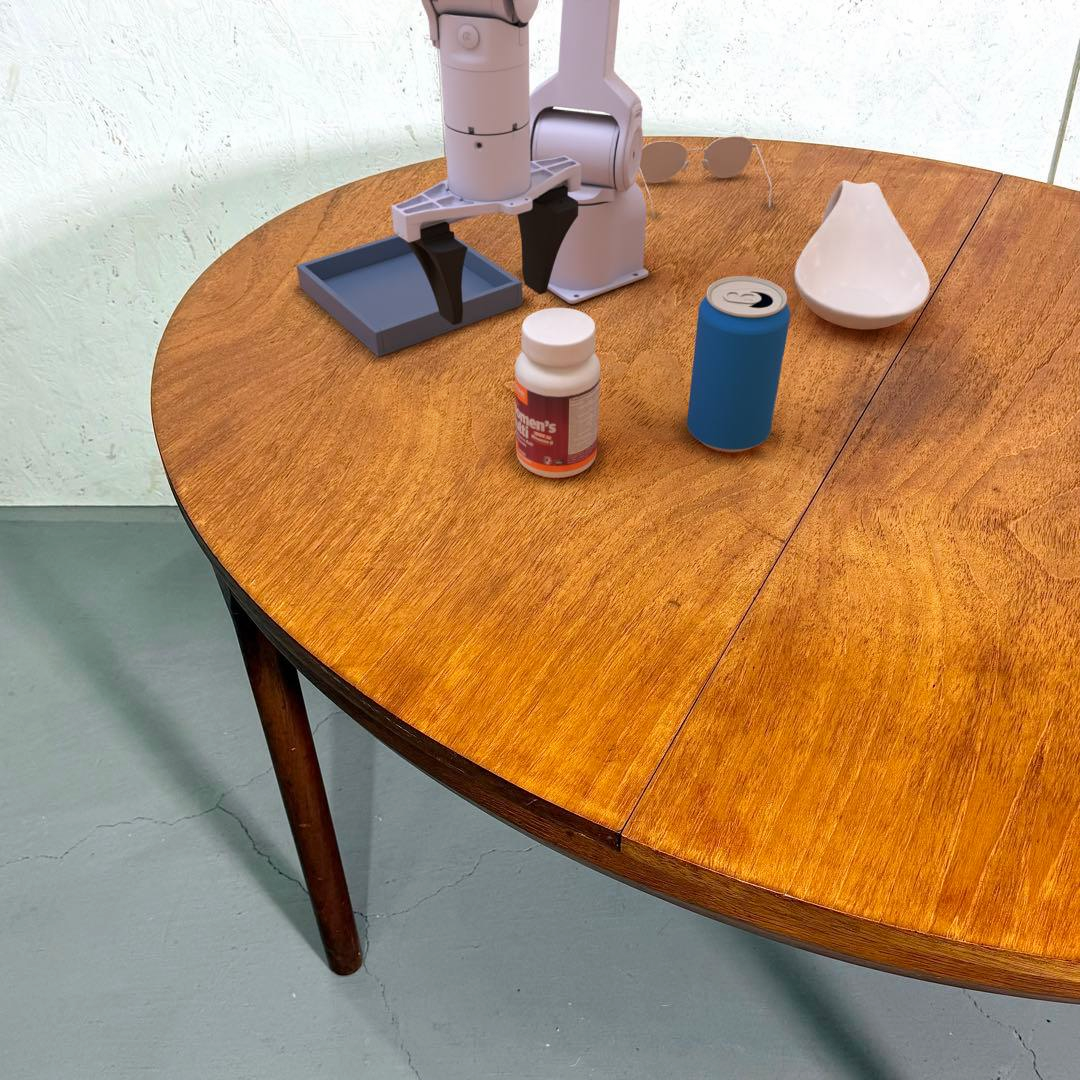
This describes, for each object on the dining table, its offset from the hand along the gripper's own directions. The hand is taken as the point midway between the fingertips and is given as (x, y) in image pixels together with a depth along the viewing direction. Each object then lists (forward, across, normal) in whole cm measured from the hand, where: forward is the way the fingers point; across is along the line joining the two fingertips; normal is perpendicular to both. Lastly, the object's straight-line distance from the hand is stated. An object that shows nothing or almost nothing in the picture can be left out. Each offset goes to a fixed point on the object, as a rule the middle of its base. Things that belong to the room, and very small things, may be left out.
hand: (494, 303), depth 79 cm
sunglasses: (+10, +40, +20) cm, 46 cm away
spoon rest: (+10, +38, -2) cm, 40 cm away
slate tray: (+9, +4, +20) cm, 22 cm away
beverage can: (+10, +12, -14) cm, 21 cm away
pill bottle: (+10, 0, -8) cm, 12 cm away
